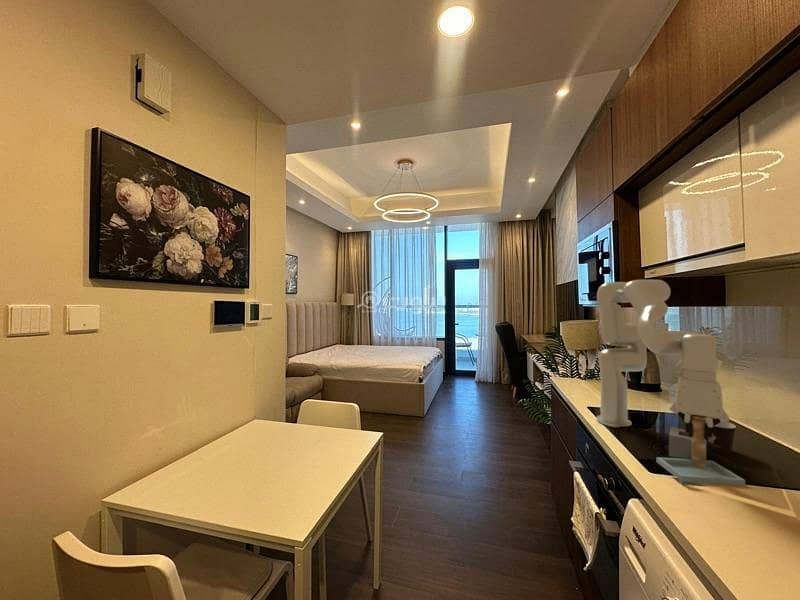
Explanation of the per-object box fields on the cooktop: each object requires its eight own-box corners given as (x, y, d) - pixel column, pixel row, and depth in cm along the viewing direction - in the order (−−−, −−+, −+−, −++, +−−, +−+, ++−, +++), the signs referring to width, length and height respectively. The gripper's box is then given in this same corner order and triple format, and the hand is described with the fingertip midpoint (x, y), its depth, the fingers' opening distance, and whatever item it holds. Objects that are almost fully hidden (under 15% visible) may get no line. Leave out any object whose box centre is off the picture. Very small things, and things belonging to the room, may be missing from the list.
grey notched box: (668, 458, 107) (669, 434, 107) (670, 449, 113) (670, 426, 113) (706, 468, 101) (706, 443, 101) (705, 458, 107) (705, 434, 107)
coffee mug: (742, 459, 107) (743, 429, 107) (712, 456, 108) (712, 427, 108) (716, 443, 118) (716, 416, 118) (688, 441, 120) (689, 414, 120)
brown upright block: (691, 466, 96) (691, 418, 96) (691, 462, 98) (691, 416, 98) (705, 469, 94) (705, 421, 94) (705, 465, 96) (705, 418, 96)
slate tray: (656, 465, 103) (656, 457, 103) (712, 468, 101) (712, 460, 101) (681, 484, 92) (681, 476, 92) (745, 489, 90) (745, 480, 90)
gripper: (662, 373, 99) (662, 433, 99) (739, 382, 88) (739, 450, 88) (664, 369, 104) (663, 426, 104) (736, 377, 93) (736, 441, 93)
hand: (698, 436), depth 96 cm, fingers closed on brown upright block, 3 cm apart
